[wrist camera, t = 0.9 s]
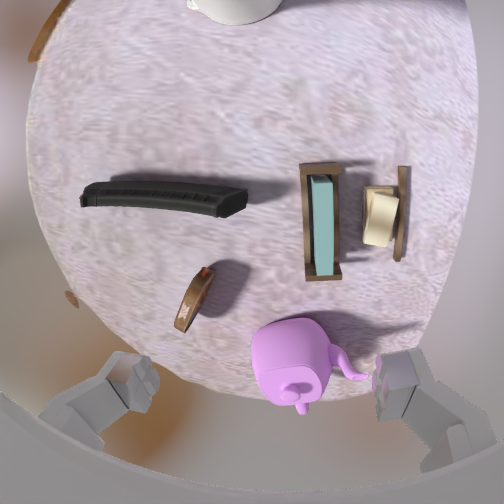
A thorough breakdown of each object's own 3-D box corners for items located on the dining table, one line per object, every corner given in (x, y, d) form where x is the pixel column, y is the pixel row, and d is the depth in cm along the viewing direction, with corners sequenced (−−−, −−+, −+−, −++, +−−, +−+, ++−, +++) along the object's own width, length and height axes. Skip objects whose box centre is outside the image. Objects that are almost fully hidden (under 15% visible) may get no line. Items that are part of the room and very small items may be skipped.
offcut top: (373, 191, 39) (375, 193, 38) (395, 196, 39) (399, 199, 38) (362, 240, 43) (364, 243, 41) (384, 243, 42) (386, 247, 41)
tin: (195, 317, 58) (182, 342, 50) (183, 311, 58) (168, 335, 50) (220, 264, 51) (207, 287, 44) (205, 257, 51) (190, 279, 44)
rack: (299, 163, 42) (300, 167, 36) (402, 163, 38) (417, 167, 33) (304, 264, 49) (305, 281, 43) (397, 260, 46) (408, 275, 40)
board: (310, 175, 42) (314, 183, 35) (325, 174, 42) (332, 182, 35) (314, 253, 48) (316, 275, 40) (327, 253, 47) (333, 275, 40)
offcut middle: (364, 187, 41) (367, 189, 39) (390, 186, 40) (393, 188, 38) (365, 239, 44) (367, 243, 43) (389, 237, 43) (392, 241, 42)
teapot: (273, 381, 63) (267, 430, 50) (244, 320, 56) (229, 374, 42) (362, 364, 57) (372, 414, 44) (352, 296, 50) (366, 349, 36)
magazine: (256, 201, 36) (54, 204, 31) (254, 224, 37) (56, 225, 33) (242, 179, 51) (95, 180, 46) (240, 195, 53) (96, 196, 48)
